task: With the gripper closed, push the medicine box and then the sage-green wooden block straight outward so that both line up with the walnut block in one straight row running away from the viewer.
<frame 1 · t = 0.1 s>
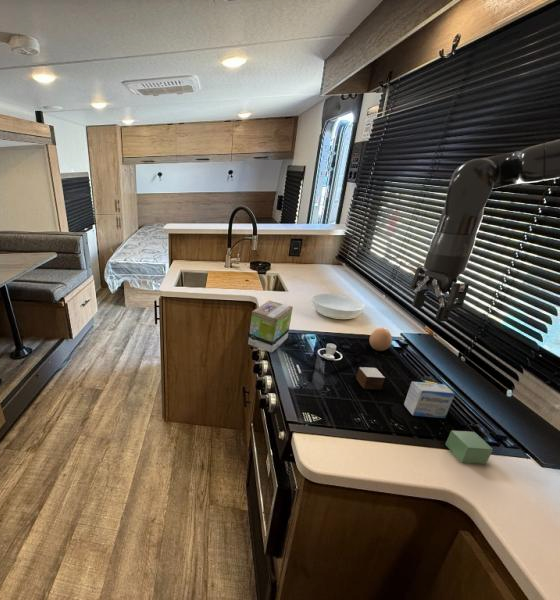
hand: (428, 313, 78), 28 cm above the table, tool pointing down, fingers open, 8 cm apart
white ring with knob: (320, 355, 112), on the table
walnut block: (367, 385, 95), on the table
sage block: (463, 455, 71), on the table
medicine box: (422, 413, 84), on the table
serving bowl: (334, 315, 143), on the table
tea box: (268, 342, 121), on the table
egg: (377, 350, 114), on the table
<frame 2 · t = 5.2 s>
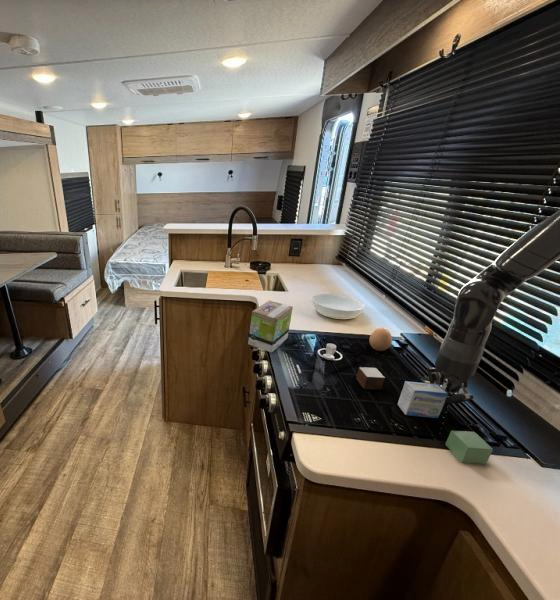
hand: (438, 409, 83), 2 cm above the table, tool pointing down, fingers closed
medicine box: (416, 413, 84), on the table, touching hand
everything else where it was.
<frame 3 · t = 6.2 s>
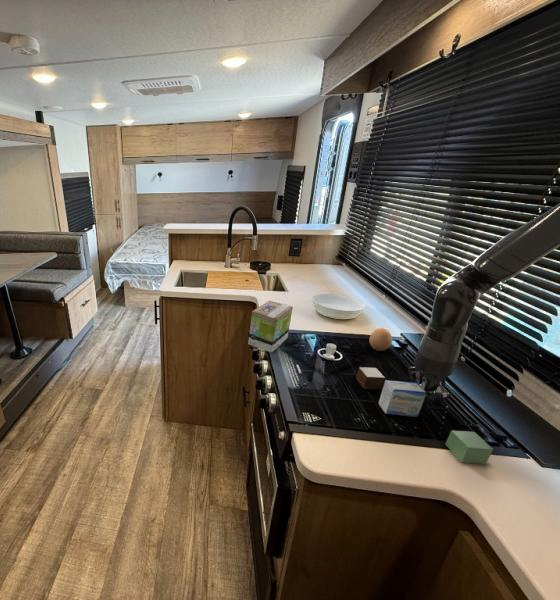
hand: (418, 407, 84), 2 cm above the table, tool pointing down, fingers closed
medicine box: (396, 411, 85), on the table, touching hand
everything else where it was.
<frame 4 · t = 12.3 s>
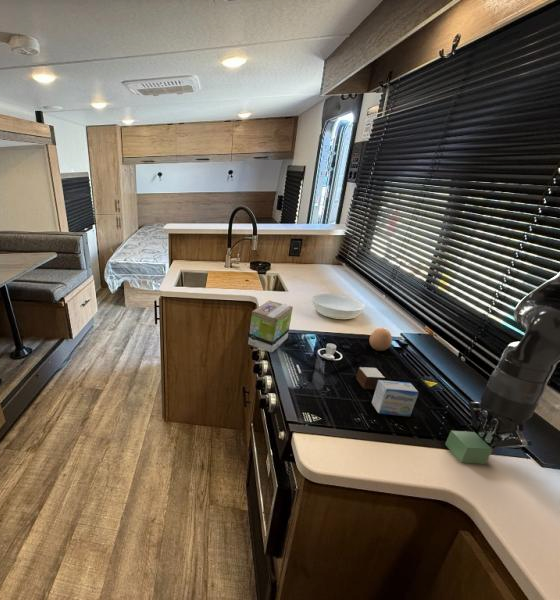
hand: (483, 451, 70), 2 cm above the table, tool pointing down, fingers closed
sage block: (463, 455, 71), on the table, touching gripper
medicine box: (389, 411, 85), on the table
everything else where it was.
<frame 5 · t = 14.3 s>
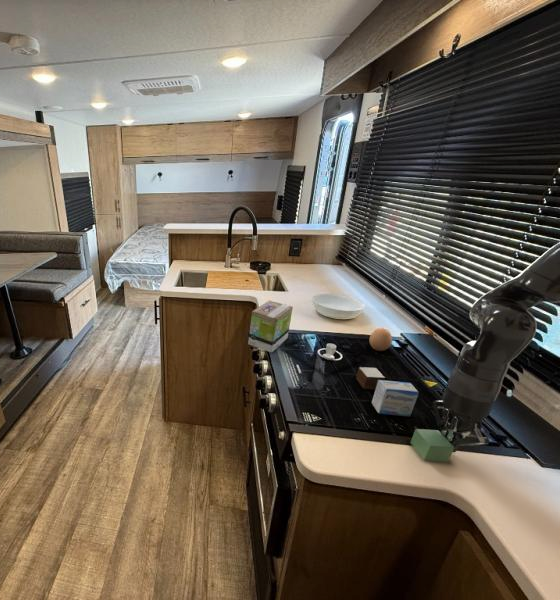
hand: (446, 449, 71), 1 cm above the table, tool pointing down, fingers closed
sage block: (427, 453, 72), on the table, touching gripper
everything else where it was.
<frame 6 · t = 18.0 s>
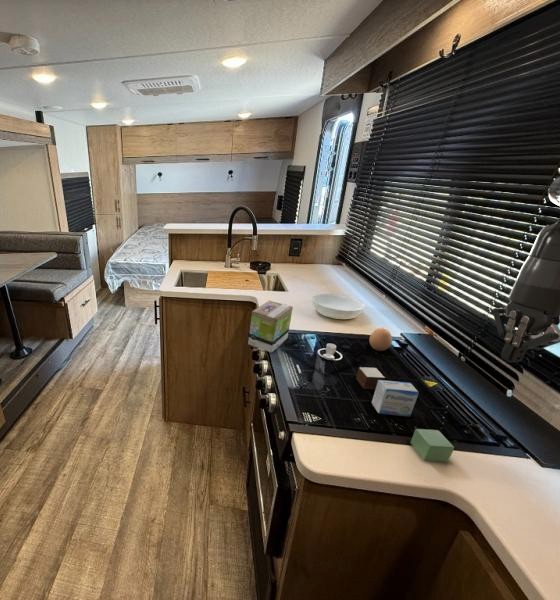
hand: (509, 360, 64), 25 cm above the table, tool pointing down, fingers closed
sage block: (427, 453, 72), on the table
everything else where it was.
at the end: medicine box 0.4 cm from the target spot on the table beside the walnut block, on the table; medicine box tilted 0°; sage block 1.1 cm from the target spot on the table beside the walnut block, on the table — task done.
